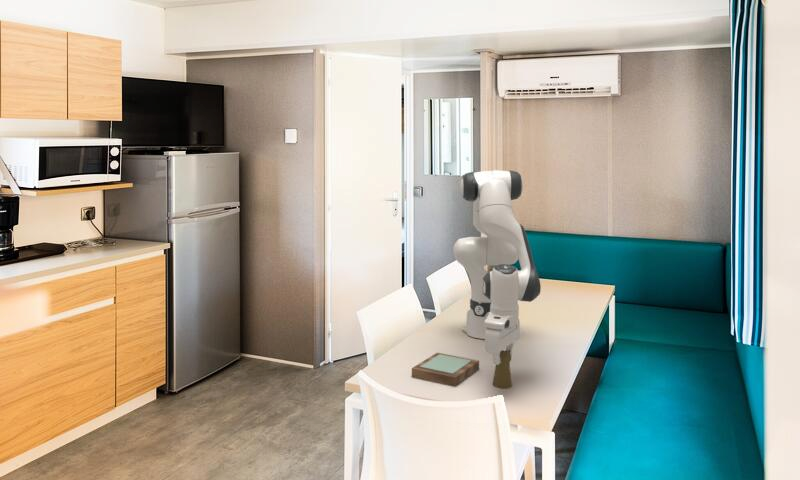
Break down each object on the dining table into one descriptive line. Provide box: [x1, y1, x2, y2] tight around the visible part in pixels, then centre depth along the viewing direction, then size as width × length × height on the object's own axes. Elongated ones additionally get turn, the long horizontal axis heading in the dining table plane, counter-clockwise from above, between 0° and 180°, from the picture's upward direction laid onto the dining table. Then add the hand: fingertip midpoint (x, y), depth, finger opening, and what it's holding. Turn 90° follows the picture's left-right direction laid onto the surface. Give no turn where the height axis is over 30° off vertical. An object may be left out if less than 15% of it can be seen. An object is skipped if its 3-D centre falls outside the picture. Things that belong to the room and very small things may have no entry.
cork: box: [492, 350, 513, 389], centre depth 206 cm, size 6×6×11 cm
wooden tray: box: [411, 352, 480, 387], centre depth 217 cm, size 18×16×3 cm
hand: (502, 359), depth 205 cm, fingers open, 8 cm apart
